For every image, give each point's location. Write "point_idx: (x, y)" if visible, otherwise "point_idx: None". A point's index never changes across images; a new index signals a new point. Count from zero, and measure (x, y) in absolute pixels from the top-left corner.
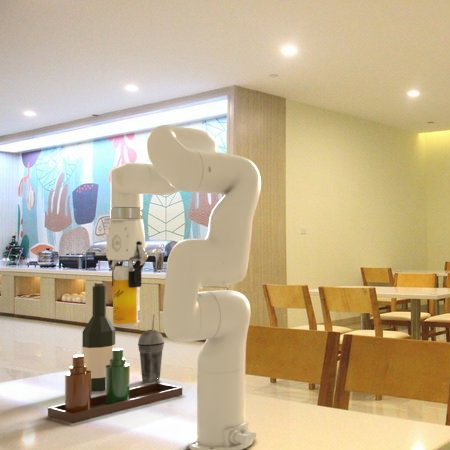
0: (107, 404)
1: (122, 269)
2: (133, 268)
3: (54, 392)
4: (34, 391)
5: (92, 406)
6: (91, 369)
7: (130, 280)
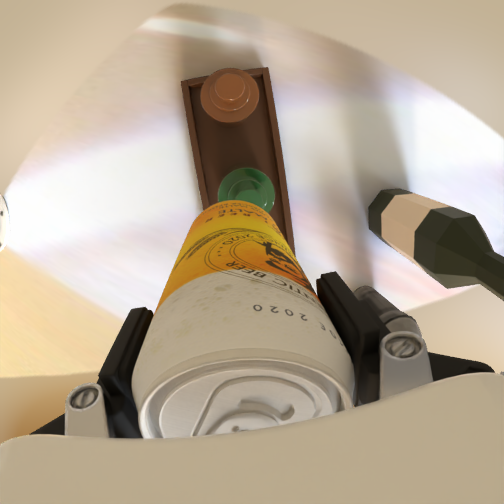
0: (237, 163)
1: (152, 361)
2: (68, 402)
3: (431, 158)
4: (456, 142)
5: (269, 147)
6: (401, 203)
7: (121, 335)
